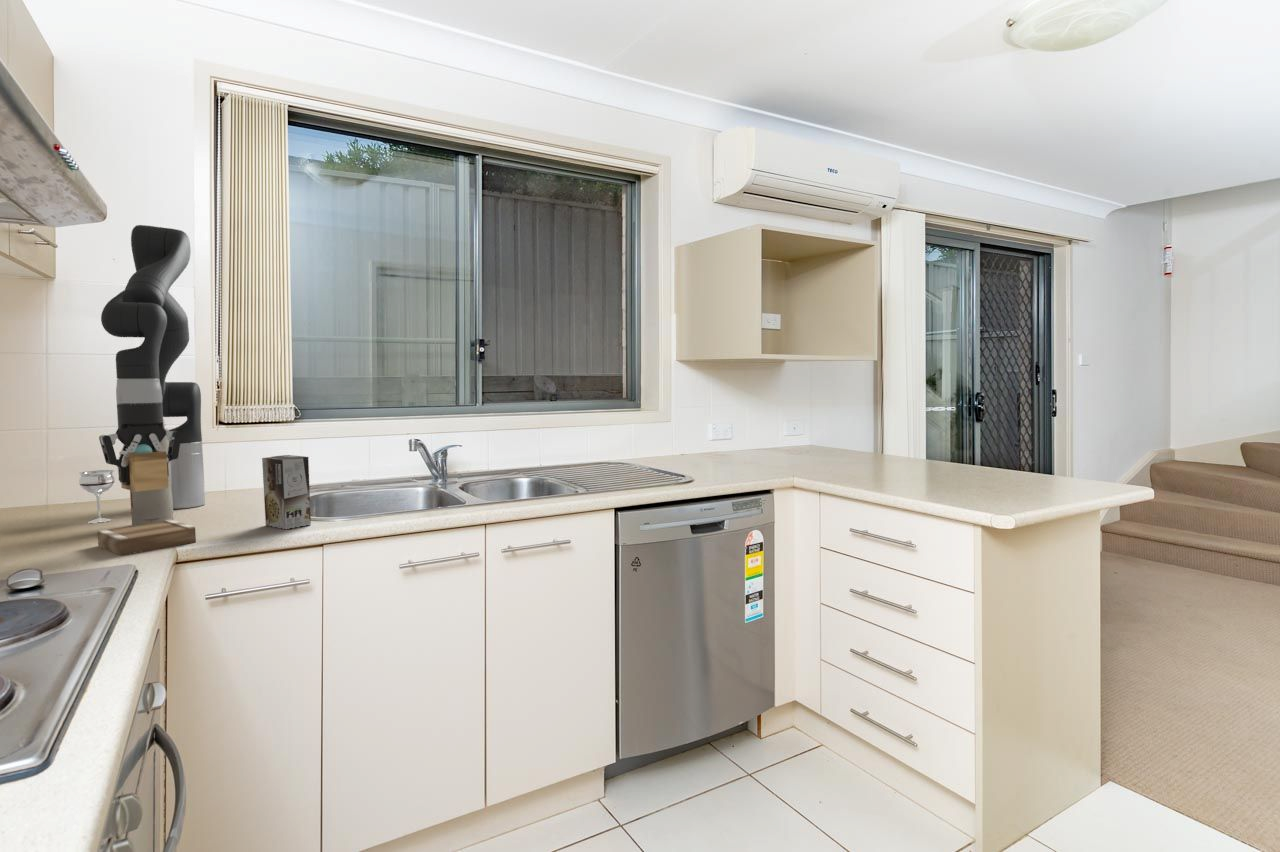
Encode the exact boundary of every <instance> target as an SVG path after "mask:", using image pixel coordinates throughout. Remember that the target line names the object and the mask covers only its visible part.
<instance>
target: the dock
mask: <svg viewBox="0 0 1280 852" xmlns="http://www.w3.org/2000/svg"><path fill="white" fill-rule="evenodd" d="M96 531H97V545H98V547H100V546H101V547H100V548H102V547H103V549H104V548H105V550H107V551H109V550H110V552H112V551H113V553H114V552H115V554H116V553H117V555H119V554H120V555H119V556H125V555H124V554H127V555H130V554H129V553H133V554H135V553H134V552H138V553H141V552H140V551H144V552H147V551H148V550H149V551H154V549H155V550H159V549H160V548H161V549H165V547H166V548H171V547H172V548H173V547H177V546H182V545H181V544H183V545H188V544H187V543H189V544H193V543H192V542H194V543H196V542H197V537H196V534H197V533H196V526H194V525H191V524H187V523H184V522H181V521H177V520H175V519H174V520H171V519H168V520H164V522H157V523H151V524H144V525H137V526H132V525H131V526H124V527H119V528H112V529H105V528H102V529H97V530H96ZM176 545H177V546H176Z"/></svg>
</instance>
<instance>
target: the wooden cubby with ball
mask: <svg viewBox="0 0 1280 852" xmlns="http://www.w3.org/2000/svg"><path fill="white" fill-rule="evenodd" d="M120 452H121V451H119V454H120ZM128 467H129V471H130V485H123V483H121V482H120V484H121V489H125V490H129V491H130V490H131V491H135V492H138V491H147V490H155V489H164V488H168V472H167V454H166V452H164V451H157V452H156V451H152V453H140V454H136V453H131V454H130V455H129V464H128Z"/></svg>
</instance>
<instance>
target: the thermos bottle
mask: <svg viewBox="0 0 1280 852" xmlns="http://www.w3.org/2000/svg"><path fill="white" fill-rule="evenodd" d="M163 426H164V428H165V429H166V431H169V430H170V429H168V428H166V421H165V419H164V418H163ZM160 444H161V446H162V447H163V449H164V451H165V452H166V454H168V447H169V440H167V436H166V435H165V437H164V438H163V439H162V441H161V442H160ZM168 473H169V476H168V488H164V489H155V490H147V491H138V492H135V491H131V490H129V493H130V494H129V497H130V512H131V513H130V514H131V526H137V525H144V524H151V523H157V522H164V520H168V519H171V520H174V521H175V519H174V509H173V500H172V490H171V463H170V461H169V463H168Z"/></svg>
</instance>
